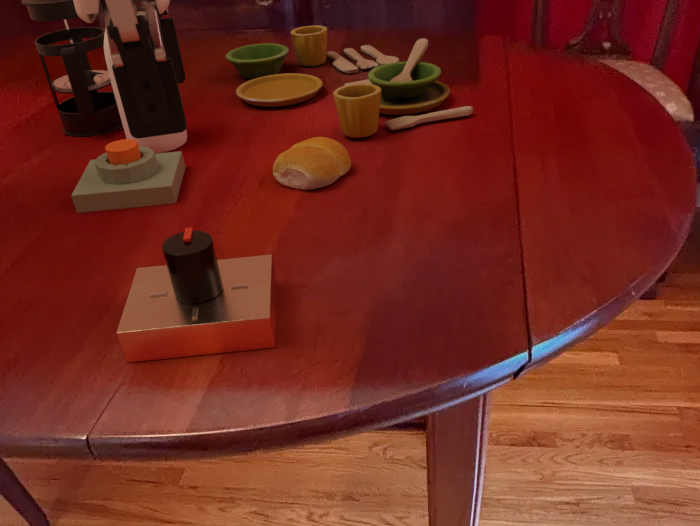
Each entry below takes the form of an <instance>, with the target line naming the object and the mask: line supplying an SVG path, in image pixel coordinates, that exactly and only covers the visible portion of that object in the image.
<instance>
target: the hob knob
mask: <svg viewBox="0 0 700 526" xmlns="http://www.w3.org/2000/svg"><path fill="white" fill-rule="evenodd" d="M161 249H162V253H163V257H164V260H165V265H167V268H168V272H169V276H170V279H171V283H172V287H173V290H174V294H175V297H176V298H177V299H178V300H179V301H181V302H184V303H201V302H205V301H208V300H211V299H213V298H215V297H216V296H218V295H219V294H220V293H221V291H222V289H223V284H222V279H221V275H220V270H219V266H218V261H217V260H218V257H217V253H216V249H215V244H214V239H213V236H212V235H211V234H210V233H208V232H206V231H203V230H194V228H193V227H192V226H191V227H185V230H184V231H182V232H178V233H176V234H173V235H171V236H169V237H167V238H166V239H164V240H163V242H162V245H161Z"/></svg>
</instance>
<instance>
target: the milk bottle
mask: <svg viewBox="0 0 700 526" xmlns="http://www.w3.org/2000/svg"><path fill="white" fill-rule="evenodd" d="M104 28H105V29H104V30H105V34H104V46H103V54H104V59H105V64H106V68H107V71H108V73H109V76H110V80H111V84H110V85H111V88H112V92H114V95H115V99H116V102H117V106H118V110H119V113H120V117H121V120H122V124H123V131H124V135H125V139H132V140H136V141H137V142H138V146H142V147H149V148H150V149H152V150H153V151H154V152H155V154H157V153H168V152H170V151H171V152H172V151H174V150H177V149H178V148H180V147H182V146H183V145H184V144H186V143H187V140H188V133H187V132H188V131H187V129H186V130H185V131H184V132H181V133H174V134H167V135H160V136H153V137H146V138H134V137H133V136H132V135H131V134H130V130H129V127H128V123H127V120H126V116H125V113H124V109H123V105H122V102H121V98H120V95H119V91H118V87H117V84H116V80H115V77H114V73H113V69H112V65H113V61H112V58H111V54H110V48H109V43H108V37H107V32H106V27H104Z"/></svg>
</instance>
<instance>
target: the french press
mask: <svg viewBox="0 0 700 526" xmlns="http://www.w3.org/2000/svg"><path fill="white" fill-rule="evenodd" d="M20 1H21V4H22V5H23V6H26V9H27V11H28V14H29V18H30V19H31V20H32V21H34V22H56V21H63V23H64V26H65V29H59V30H56V31H52V32H47V33H45V34H42V35H40V36H38V37H37V38H36V39H35V40H34V44H35V47H36V50H37V53H38V55H39V59H40V62H41V65H42V69H43V71H44V74H45V77H46V80H47V84H48V86H49V89H50V92H51V95H52V98H53V101H54V104H55V107H56V110H57V113H58V116H59V119H60V122H61V125H62V127H61V129H62V133H63V132H64V133H65V134H66V135H68V136H67V137H70V136H73V137H72V138H75V137H89V138H92V137H91V136H97V135H102V136H104V135H103V134H107V133H110V132H113V133H115V132H114V131H116V130H118V129H120V128H122V127H123V124H122V120H121V117H120V113H119V110H118V106H117V102H116V99H115V95H114V91H98V90H101V89H104V88H106V87H108V86H110V85H112V84H111V80H110V76H109V73H108V70H104V69H94V70H93V69H92V67H91V64H90V60H89V57H88V54H87V53H90V52H93V51H96V50H98V49H101V48H104V34H105V29H104V28H101V27H96V26H82V27H71V28H70V26H69V23H68V20H71V19H75V18H80V17H79V16H78V15H77V13H76V10H75V6H74V2H73V0H20ZM85 38H86V40H83V39H85ZM89 38H90V39H89ZM64 41H68V42H69V43H65V44H55V43H60V42H64ZM45 57H61V58H62V62H63V66H64V69H65V72H66V75H63V76H60V77H58V78H57V79H54V80H53V81H52V77H51V75H50V72H49V69H48V66H47V63H46V60H45ZM57 93H60V94H65V95H66V94H69V95H73V96H72V97H69V98H67V99H65V100H62V101H61V102H60V103H59V100H58V96H57ZM64 133H63V134H64ZM65 134H64V135H65ZM110 134H111V133H110ZM66 135H65V136H66ZM107 135H108V134H107ZM97 137H98V136H97Z"/></svg>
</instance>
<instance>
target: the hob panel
mask: <svg viewBox="0 0 700 526" xmlns="http://www.w3.org/2000/svg"><path fill="white" fill-rule="evenodd" d="M217 261H218V266H219V270H220V275H221V279H222V284H223V289H222V291H221V293H220V294H219V295H218V296H216V297H215V298H213V299H211V300H208V301H205V302H201V303H184V302H181V301H179V300H178V299H177V298H176V297H175V294H174V290H173V287H172V283H171V279H170V276H169V272H168V268H167V265H166V264H164V265H163V264H162V265H154V266H143V267H137V268H136V269H135V273H134V276H133V279H132V283H131V286H130V289H129V292H128V295H127V299H126V301H125V305H124V307H123V311H122V314H121V317H120V320H119V323H118V326H117V328H116V329H117V330H116V332H115V334H116V336H117V339H118V342H119V345H120V348H121V351H122V354H123V357H124V359H125V362H126V364H129V363H138V362H139V363H140V362H150V361H157V360H168V359H177V358H186V357H187V358H188V357H196V356H206V355H216V354H227V353H236V352H246V351H255V350H264V349H275V348H276V334H277V333H276V331H277V329H276V327H277V287H278V284H277V283H278V282H277V277H276V270H275V263H274V259H273V254H264V255H263V254H262V255H253V256H251V255H250V256H244V257H243V256H242V257H232V258H225V259H223V258H221V259H217Z"/></svg>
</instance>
